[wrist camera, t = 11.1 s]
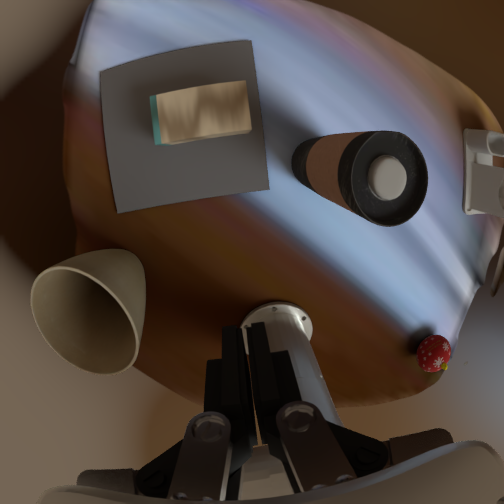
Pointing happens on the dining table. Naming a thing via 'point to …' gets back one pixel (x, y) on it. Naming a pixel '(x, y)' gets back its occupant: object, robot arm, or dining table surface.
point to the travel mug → (365, 173)
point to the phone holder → (483, 172)
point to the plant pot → (92, 309)
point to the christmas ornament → (433, 353)
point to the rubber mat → (183, 154)
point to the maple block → (200, 113)
